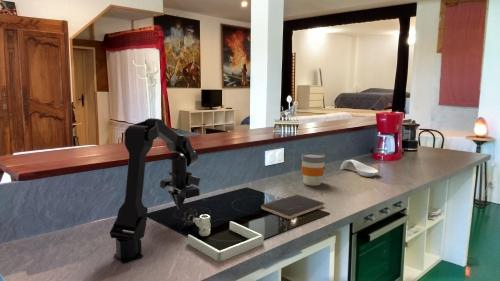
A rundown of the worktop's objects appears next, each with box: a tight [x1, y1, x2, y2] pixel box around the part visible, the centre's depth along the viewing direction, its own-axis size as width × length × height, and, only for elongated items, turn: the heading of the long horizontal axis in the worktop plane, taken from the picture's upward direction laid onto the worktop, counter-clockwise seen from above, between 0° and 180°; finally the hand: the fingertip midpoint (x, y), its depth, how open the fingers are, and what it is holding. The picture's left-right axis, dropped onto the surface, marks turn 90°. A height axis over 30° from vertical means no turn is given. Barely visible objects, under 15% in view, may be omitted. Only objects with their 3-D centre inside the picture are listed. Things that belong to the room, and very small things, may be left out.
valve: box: [181, 208, 212, 237], centre depth 134 cm, size 7×7×12 cm
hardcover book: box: [260, 194, 325, 220], centre depth 160 cm, size 16×23×2 cm
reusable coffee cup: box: [300, 152, 326, 186], centre depth 197 cm, size 12×12×15 cm
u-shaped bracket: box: [187, 220, 265, 263], centre depth 124 cm, size 19×16×3 cm
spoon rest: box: [340, 159, 379, 178], centre depth 220 cm, size 24×12×7 cm, turn 37°
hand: (179, 209), depth 143 cm, fingers closed
